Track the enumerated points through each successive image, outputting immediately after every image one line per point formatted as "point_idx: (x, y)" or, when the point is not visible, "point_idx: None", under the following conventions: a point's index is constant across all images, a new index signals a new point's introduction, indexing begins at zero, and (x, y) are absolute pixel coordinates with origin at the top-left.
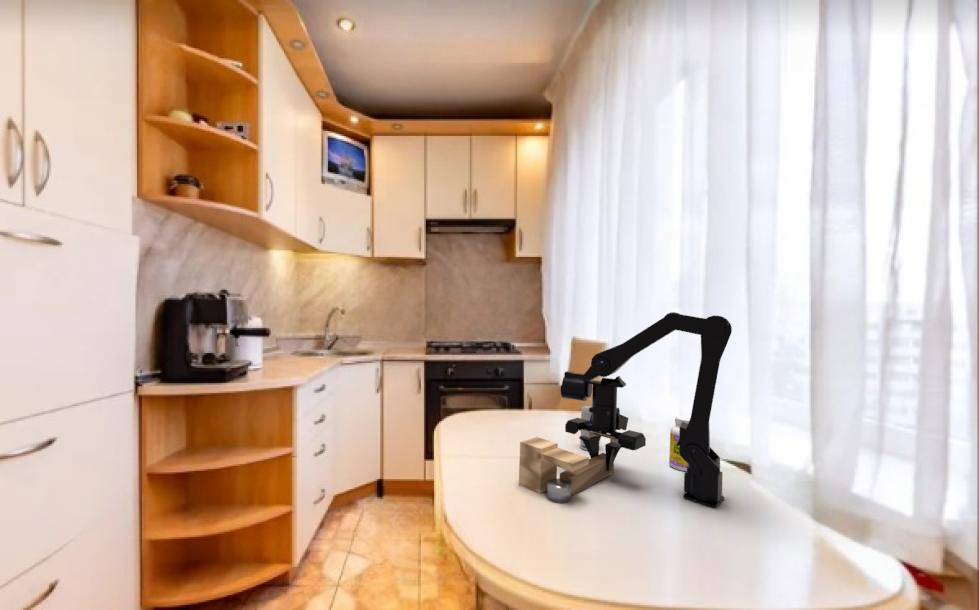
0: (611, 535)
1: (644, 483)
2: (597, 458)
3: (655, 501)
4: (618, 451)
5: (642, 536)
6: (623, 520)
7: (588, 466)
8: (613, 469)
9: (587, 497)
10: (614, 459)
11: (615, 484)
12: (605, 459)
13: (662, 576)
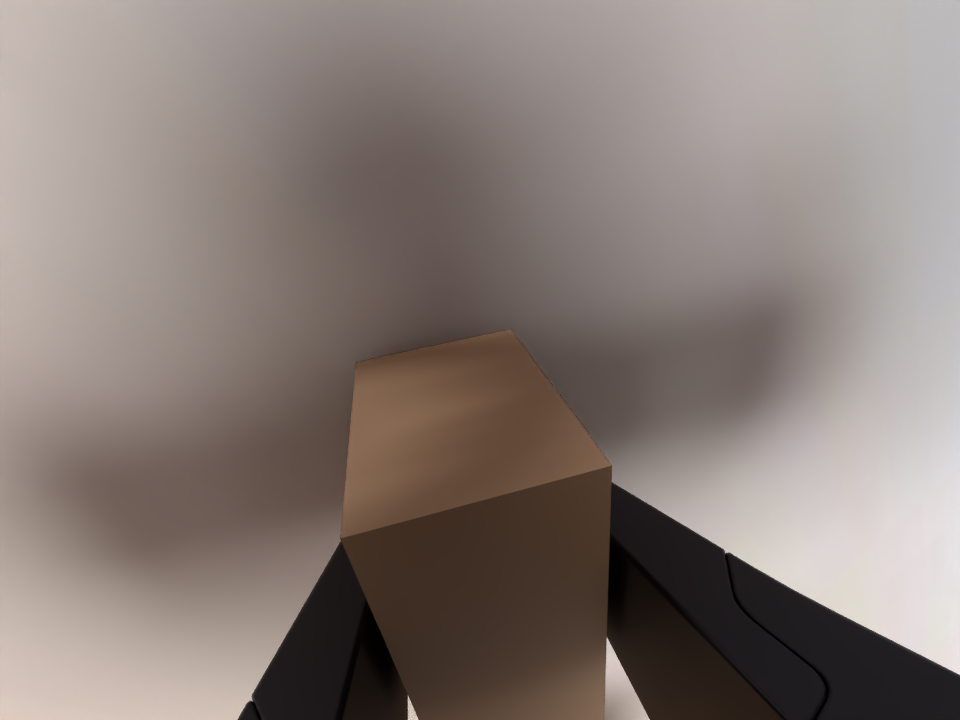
0: None
1: (810, 198)
2: (492, 702)
3: (917, 413)
4: (897, 649)
5: None
6: None
7: None
8: (521, 345)
9: (609, 681)
10: (685, 538)
11: (629, 454)
12: (591, 642)
13: None
